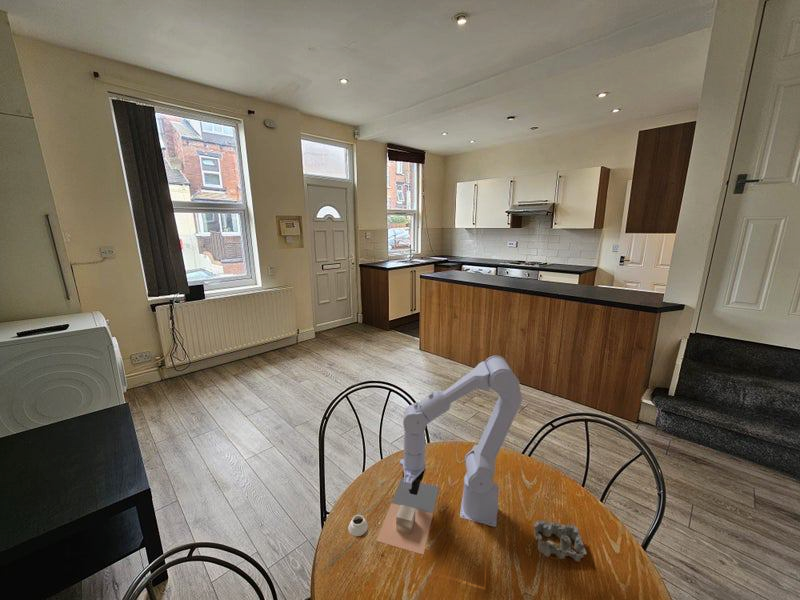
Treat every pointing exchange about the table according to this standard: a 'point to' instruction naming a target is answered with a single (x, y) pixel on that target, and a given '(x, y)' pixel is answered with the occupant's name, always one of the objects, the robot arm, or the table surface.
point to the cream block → (405, 519)
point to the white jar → (358, 526)
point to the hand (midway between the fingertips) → (413, 492)
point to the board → (423, 518)
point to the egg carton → (565, 541)
